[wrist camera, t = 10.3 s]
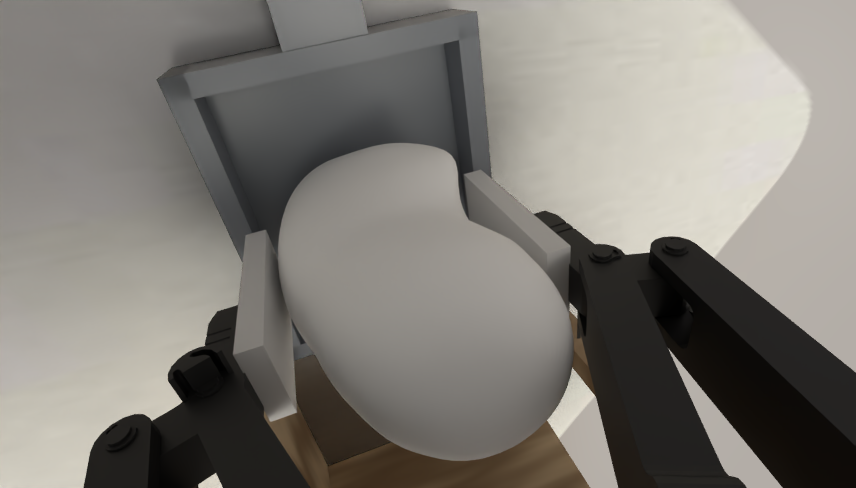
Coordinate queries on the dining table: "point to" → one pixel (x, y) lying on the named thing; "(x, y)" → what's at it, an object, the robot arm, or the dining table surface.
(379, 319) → the figurine
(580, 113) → the dining table surface
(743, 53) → the dining table surface
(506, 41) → the dining table surface
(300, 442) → the box
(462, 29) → the tray
